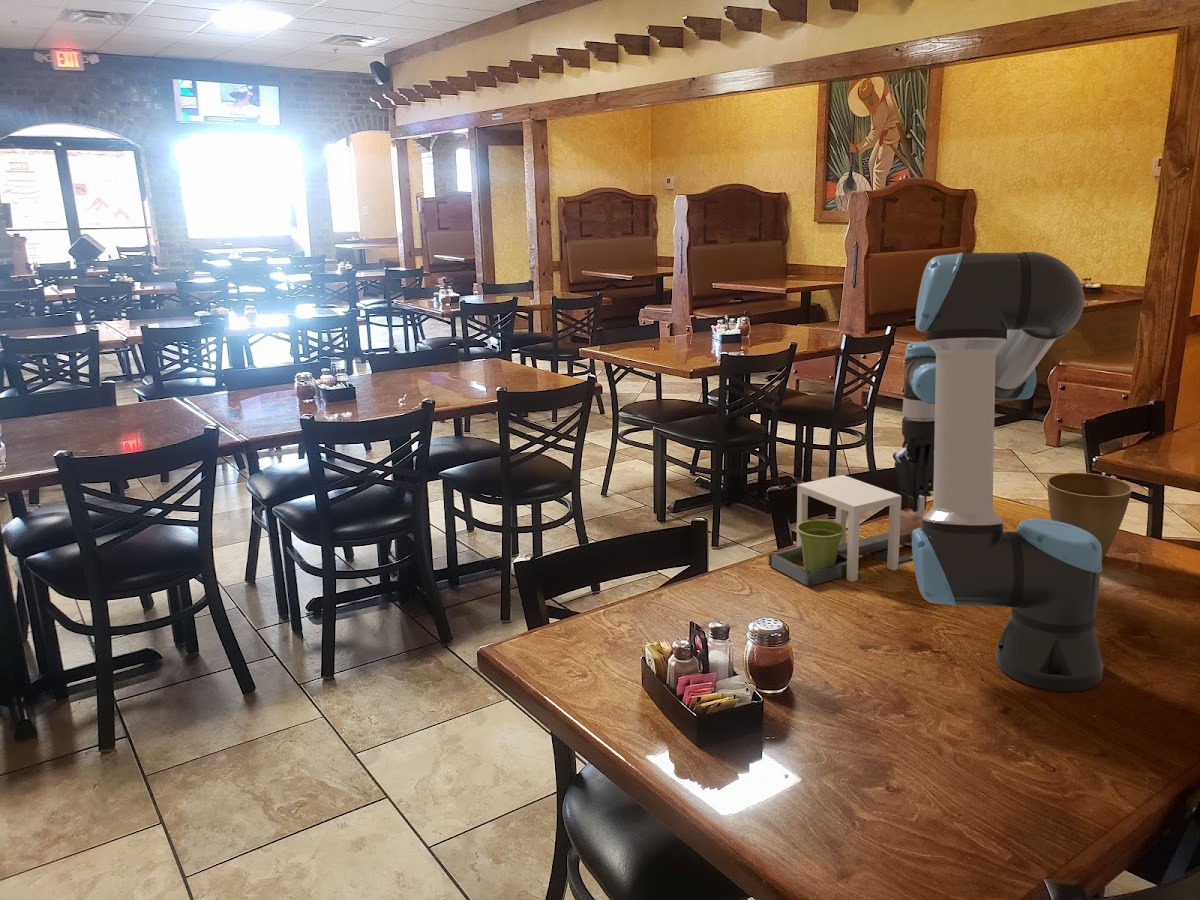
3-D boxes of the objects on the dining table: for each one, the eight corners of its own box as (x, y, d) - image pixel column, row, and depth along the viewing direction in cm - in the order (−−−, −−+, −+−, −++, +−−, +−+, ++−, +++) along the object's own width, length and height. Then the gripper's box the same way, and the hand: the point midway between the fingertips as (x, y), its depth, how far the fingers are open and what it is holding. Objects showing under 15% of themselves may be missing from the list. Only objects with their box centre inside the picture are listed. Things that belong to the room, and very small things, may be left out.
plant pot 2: (1024, 554, 188) (1030, 480, 184) (1074, 540, 194) (1081, 468, 190) (1088, 579, 175) (1096, 500, 171) (1140, 564, 181) (1150, 487, 177)
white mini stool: (920, 562, 186) (924, 490, 182) (851, 581, 179) (854, 506, 175) (862, 537, 201) (864, 470, 197) (796, 554, 193) (797, 484, 189)
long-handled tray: (934, 551, 191) (936, 523, 189) (807, 586, 177) (808, 555, 175) (891, 533, 202) (892, 506, 200) (768, 565, 188) (768, 536, 186)
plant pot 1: (850, 564, 187) (852, 524, 185) (832, 580, 180) (833, 539, 177) (807, 555, 192) (808, 516, 190) (788, 571, 185) (788, 530, 183)
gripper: (931, 409, 195) (925, 514, 201) (884, 418, 190) (880, 525, 196) (958, 416, 189) (952, 523, 195) (911, 425, 183) (906, 535, 189)
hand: (916, 524), depth 195 cm, fingers closed
